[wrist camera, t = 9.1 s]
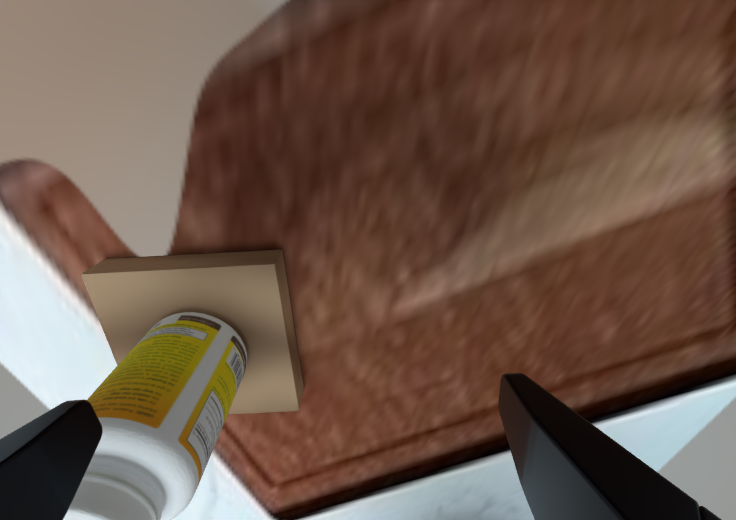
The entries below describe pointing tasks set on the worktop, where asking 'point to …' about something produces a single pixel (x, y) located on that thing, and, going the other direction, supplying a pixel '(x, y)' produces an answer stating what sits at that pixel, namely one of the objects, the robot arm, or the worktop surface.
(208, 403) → the supplement bottle
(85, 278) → the beige square slab
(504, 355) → the worktop surface
